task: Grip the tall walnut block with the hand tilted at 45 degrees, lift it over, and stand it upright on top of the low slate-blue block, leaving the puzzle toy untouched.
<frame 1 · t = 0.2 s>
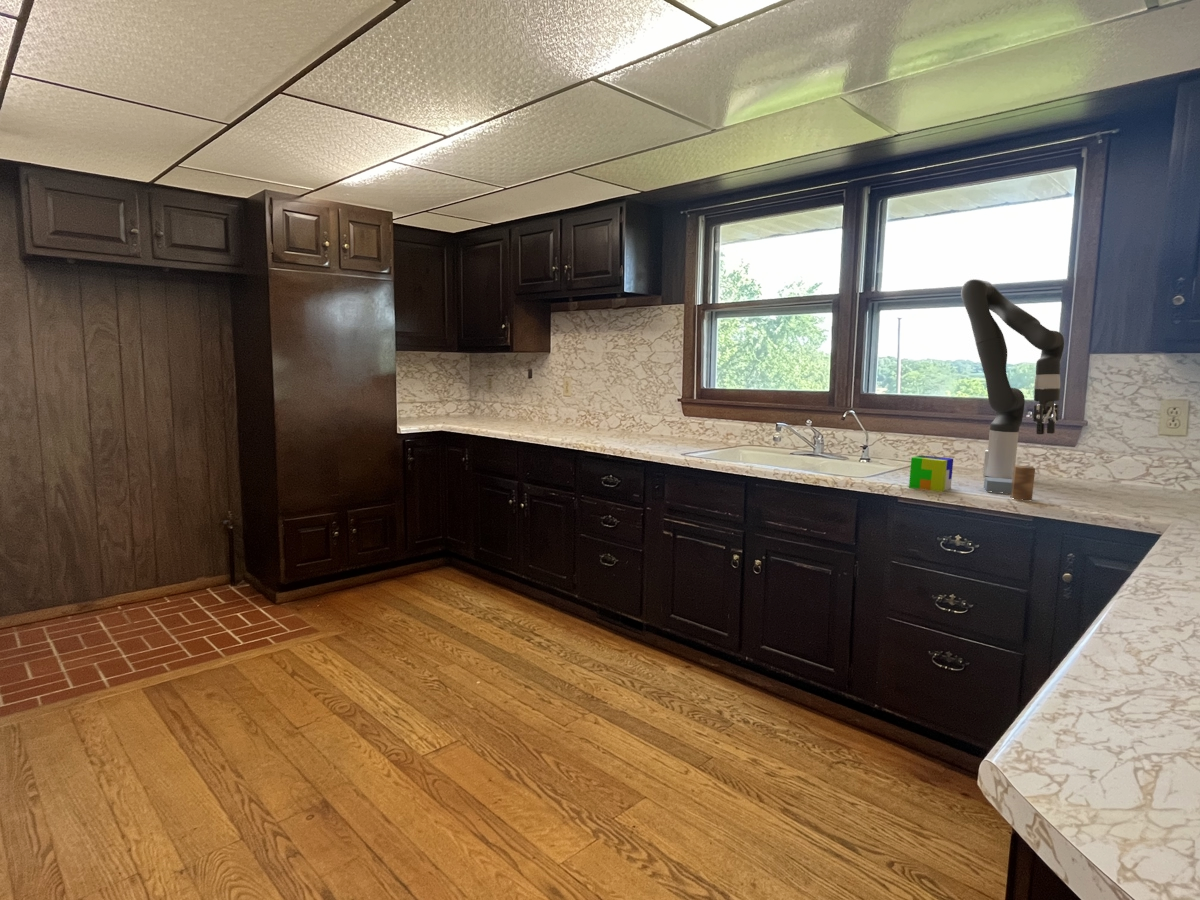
hand: (1045, 433, 237), 18 cm above the counter, tool pointing down, fingers open, 8 cm apart
slate plinth: (1000, 492, 220), on the counter
walnut block: (1020, 499, 207), on the counter
puzzle toy: (929, 488, 223), on the counter
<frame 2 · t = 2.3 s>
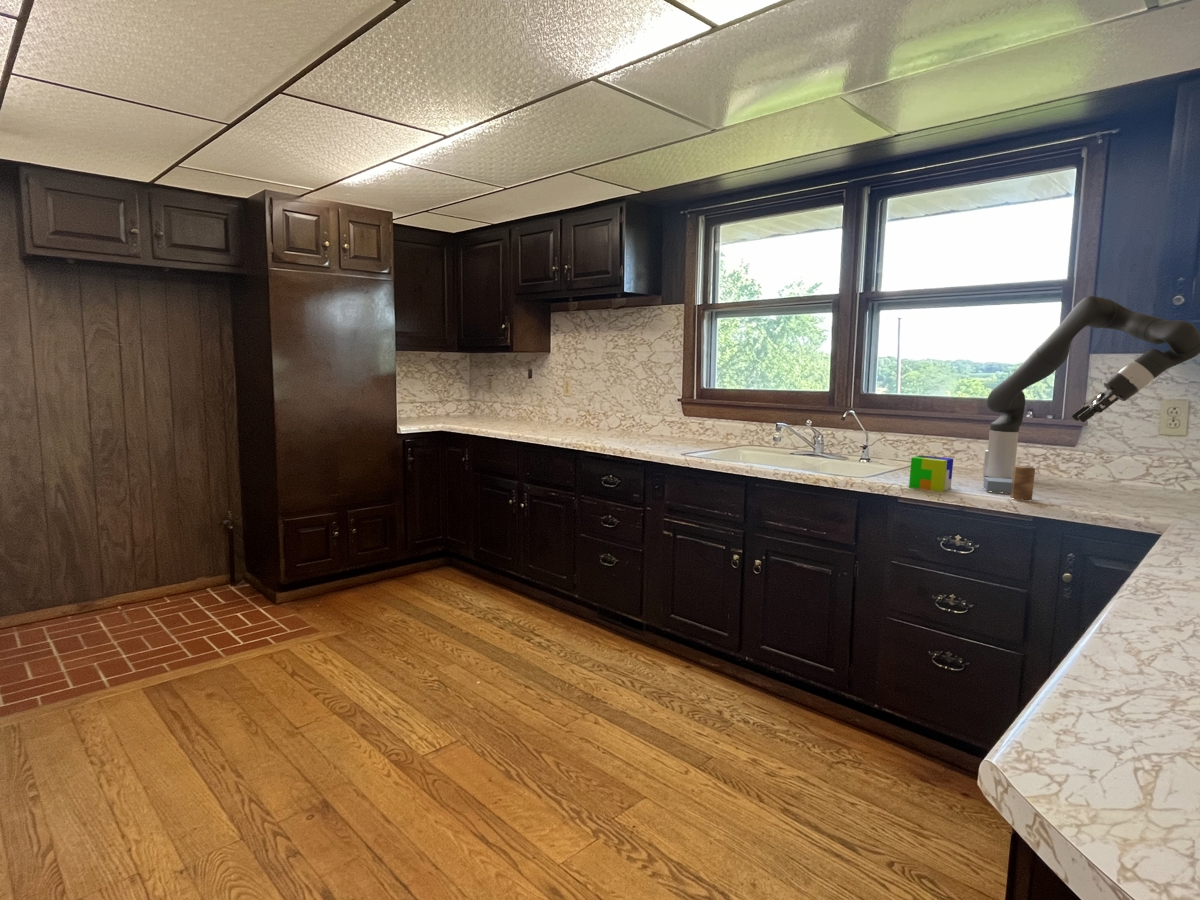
hand: (1076, 419, 199), 25 cm above the counter, tool tilted 45°, fingers open, 8 cm apart
nothing on the counter moved.
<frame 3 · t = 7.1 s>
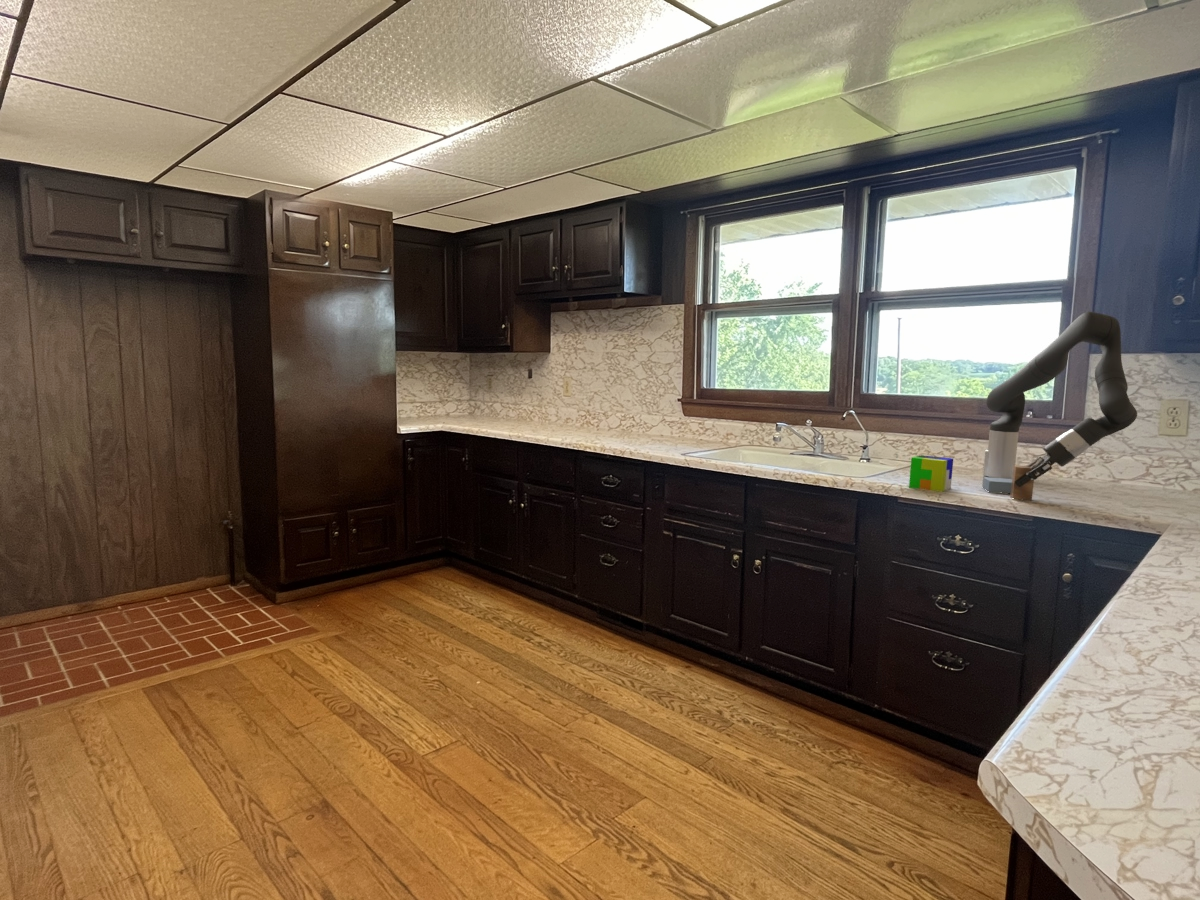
hand: (1015, 483, 207), 5 cm above the counter, tool tilted 45°, fingers closed on walnut block, 5 cm apart
walnut block: (1020, 498, 207), on the counter, touching gripper
everything else where it was.
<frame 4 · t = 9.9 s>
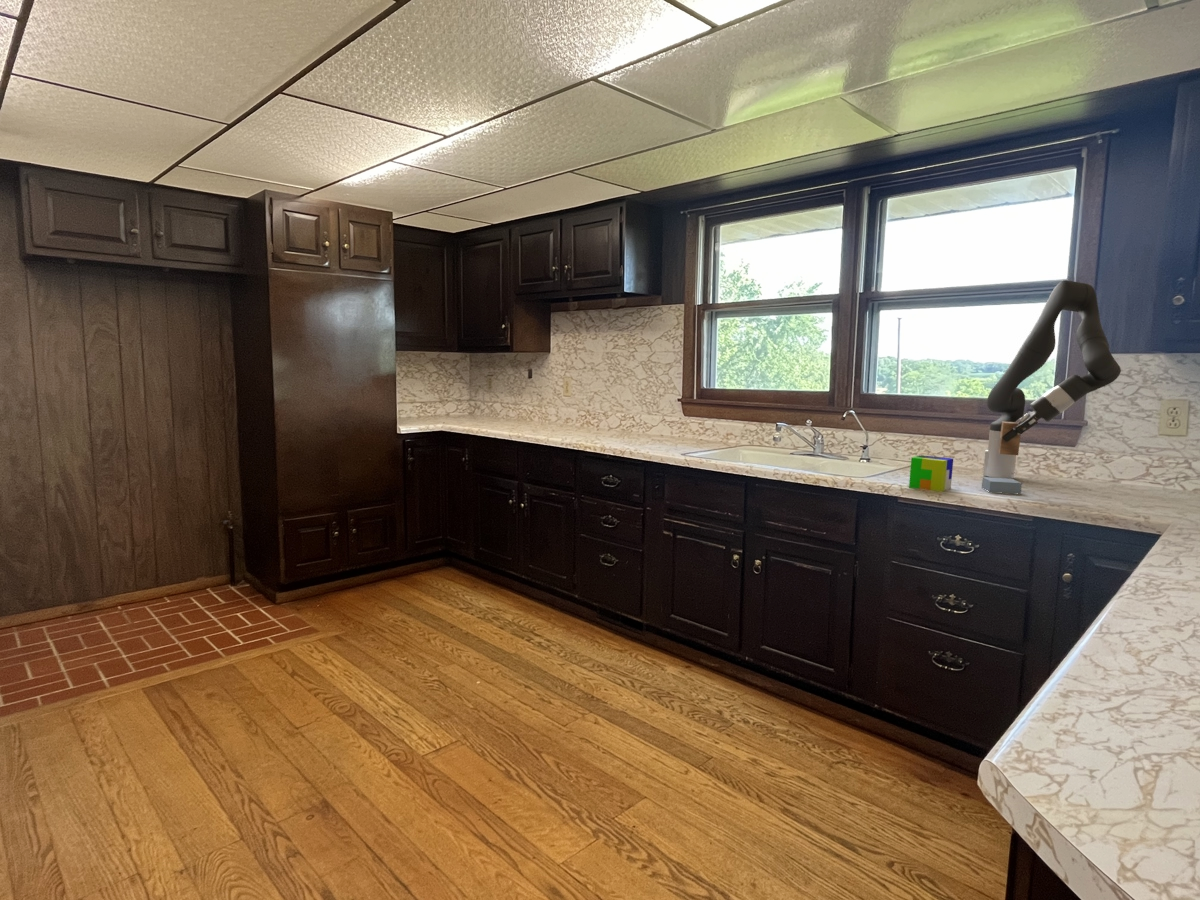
hand: (1003, 438, 216), 17 cm above the counter, tool tilted 45°, fingers closed on walnut block, 5 cm apart
walnut block: (1008, 453, 216), point 13 cm above the counter, touching gripper
everything else where it was.
when the fingers open (10 cm above the counter, at t = 12.6 s): walnut block drops 2 cm, point 4 cm above the counter.
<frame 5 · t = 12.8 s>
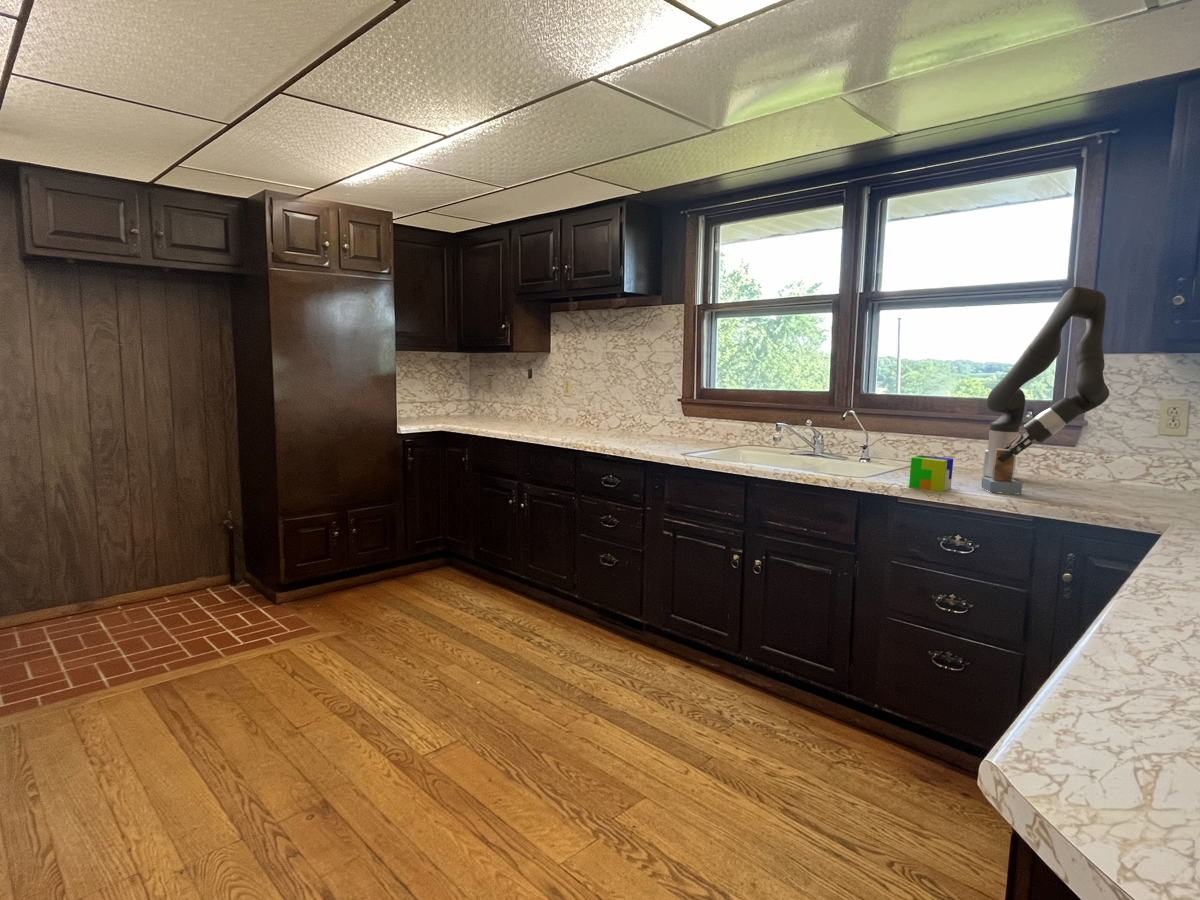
hand: (998, 459, 220), 10 cm above the counter, tool tilted 45°, fingers open, 7 cm apart
walnut block: (1001, 480, 220), point 4 cm above the counter
everything else where it was.
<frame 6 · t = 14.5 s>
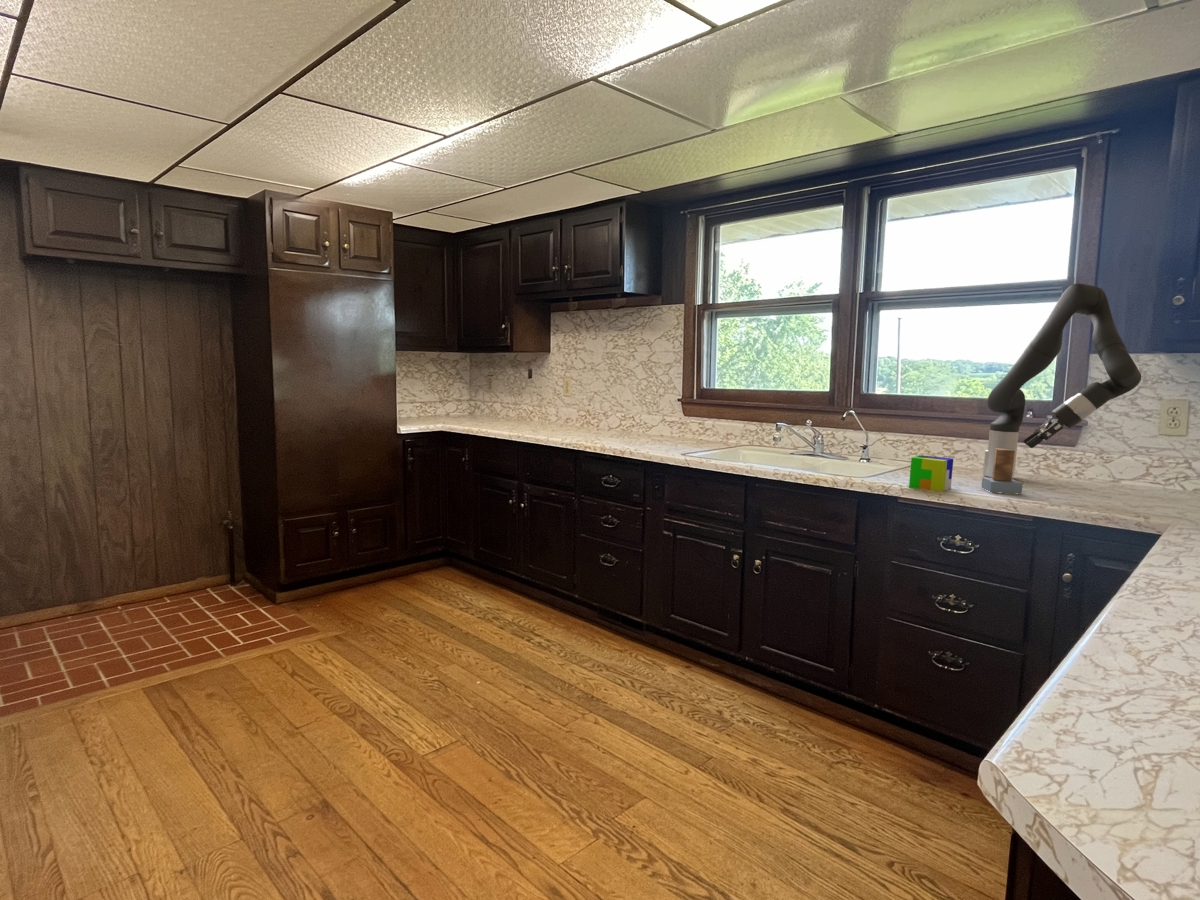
hand: (1026, 444, 216), 16 cm above the counter, tool tilted 45°, fingers open, 8 cm apart
nothing on the counter moved.
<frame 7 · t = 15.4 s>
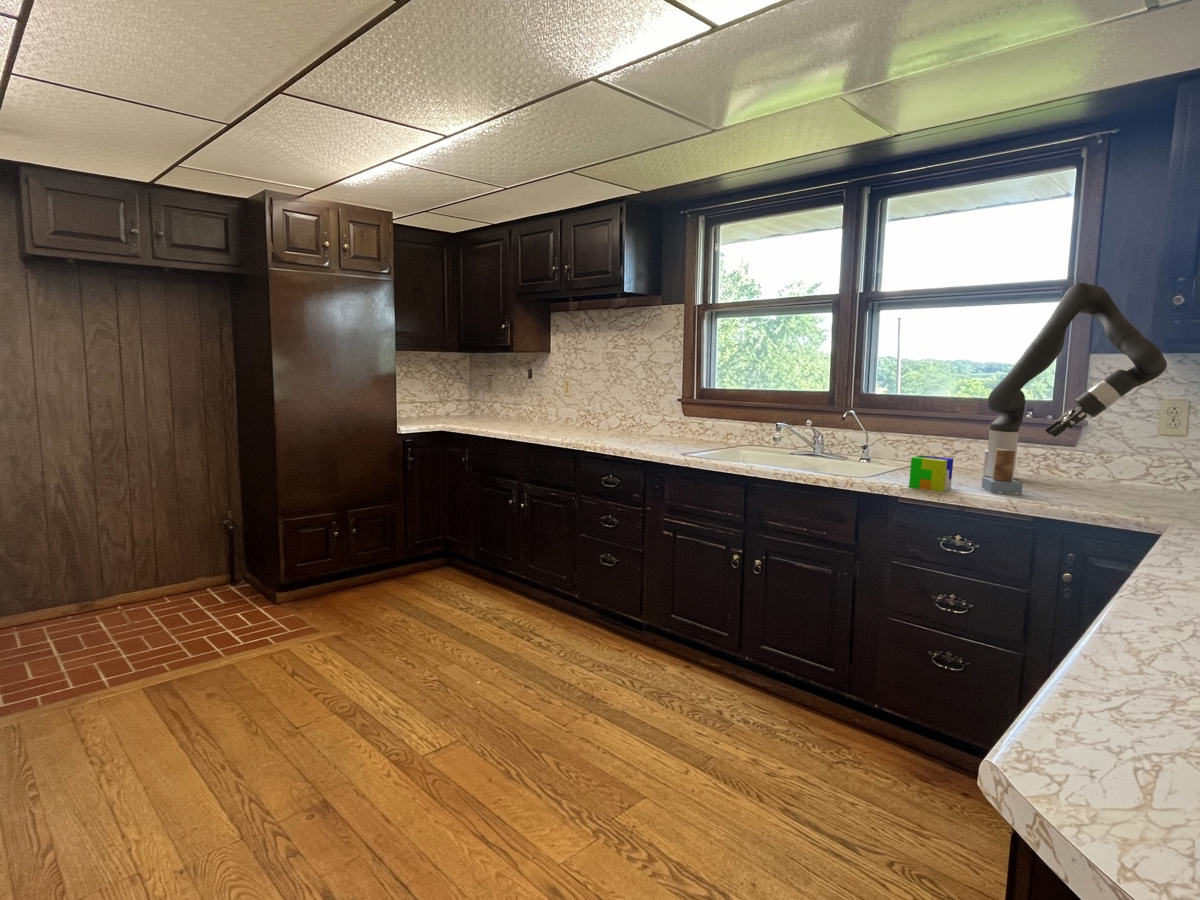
hand: (1049, 433, 213), 20 cm above the counter, tool tilted 45°, fingers open, 8 cm apart
slate plinth: (1000, 492, 220), on the counter, touching walnut block
walnut block: (1002, 480, 220), point 4 cm above the counter, touching slate plinth
everything else where it was.
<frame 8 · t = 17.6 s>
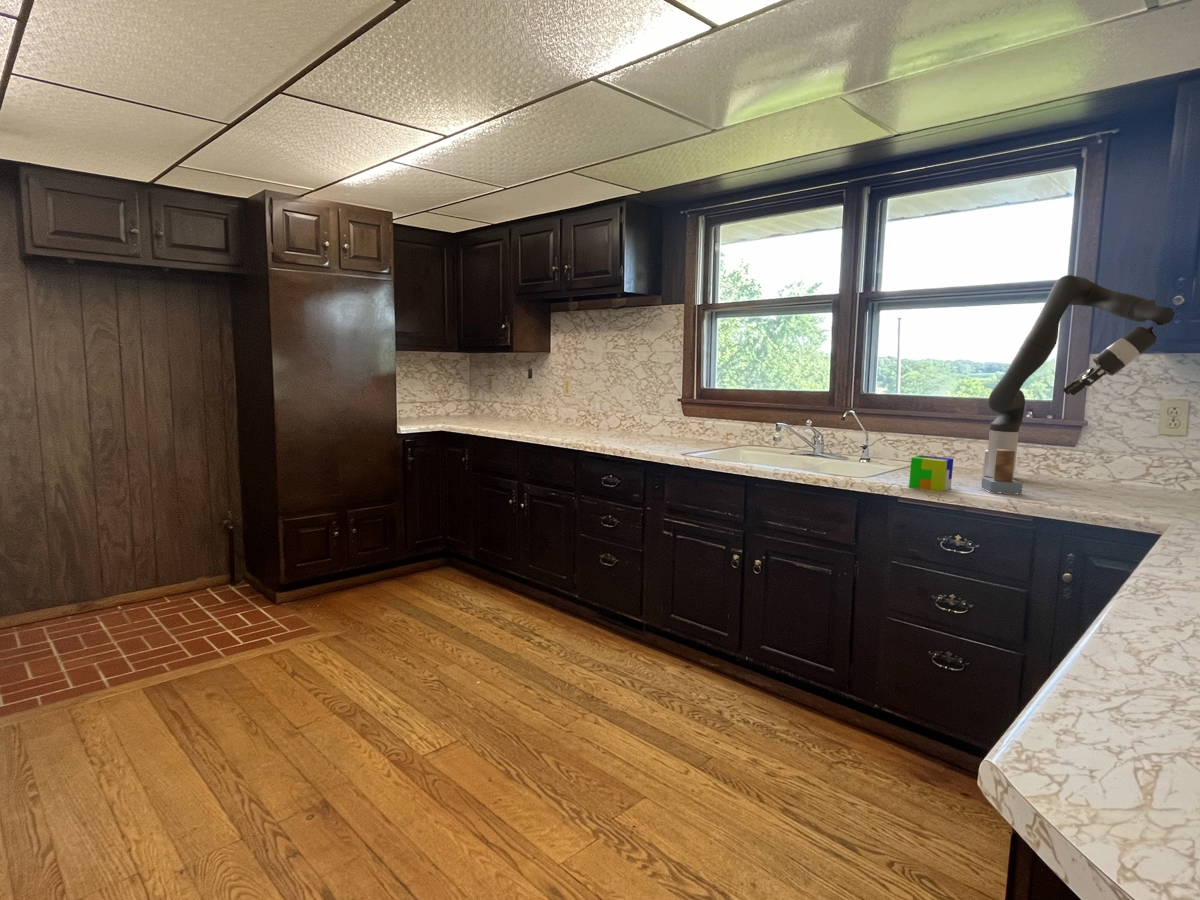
hand: (1067, 392, 213), 33 cm above the counter, tool tilted 45°, fingers open, 8 cm apart
nothing on the counter moved.
at the end: walnut block 0.3 cm off-centre on the slate plinth, point 4.0 cm above the slate plinth's base; walnut block tilted 1°; the gripper is holding nothing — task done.
